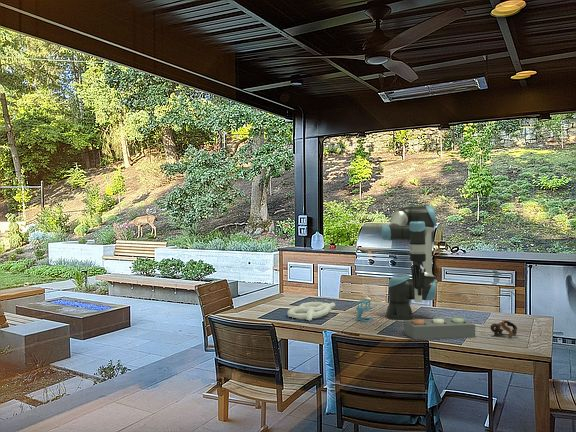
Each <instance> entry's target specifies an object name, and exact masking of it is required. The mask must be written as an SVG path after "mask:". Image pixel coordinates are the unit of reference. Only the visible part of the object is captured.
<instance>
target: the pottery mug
mask: <svg viewBox="0 0 576 432" xmlns="http://www.w3.org/2000/svg"><path fill="white" fill-rule="evenodd" d="M511 327H512V329H511ZM490 331H491V332H492V333H493V334H494V336H495V335H496V336H497V335H498V334H503V332H504V331H506V332H507V333H509V334H508V336H507V338H509V339H512V338H513V337H515V336H516V335H517V334H518V333H517V331H518V327H517V326H516V325H515V323H514V322H511V321H509V320H506V319H505V320H502V322H501V321H499V323H491V325H490Z"/></svg>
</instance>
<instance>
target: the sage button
mask: <svg viewBox="0 0 576 432" xmlns="http://www.w3.org/2000/svg"><path fill="white" fill-rule="evenodd" d="M452 319H453V323H464V320H465V319H464V318H462V317H453V318H452Z"/></svg>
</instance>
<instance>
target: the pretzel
mask: <svg viewBox="0 0 576 432" xmlns="http://www.w3.org/2000/svg"><path fill="white" fill-rule="evenodd" d="M335 307H336V303H335V302H333V301H332V302H330V303H329V302H322V301H310V302H309V301H307V302H303V303H300V304H299V305H296V306H295V307H293V308H292V307H291V308H288V310H287V312H286V313H287V317H288V318H289V317H292V318H291V319H293V318H299V319H298V320H306V321H307V320H309V321H310V320H312V321H313V319H318V318H320V317H323V316H327V314H329V313H330V312H331V311H332V309H334V308H335ZM312 318H313V319H312ZM309 321H308V322H309ZM310 322H311V321H310Z"/></svg>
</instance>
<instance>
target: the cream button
mask: <svg viewBox="0 0 576 432" xmlns="http://www.w3.org/2000/svg"><path fill="white" fill-rule="evenodd" d="M444 319H445V318H439V317H437V318H433V319H432V320H433V323H434V324H444Z"/></svg>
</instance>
